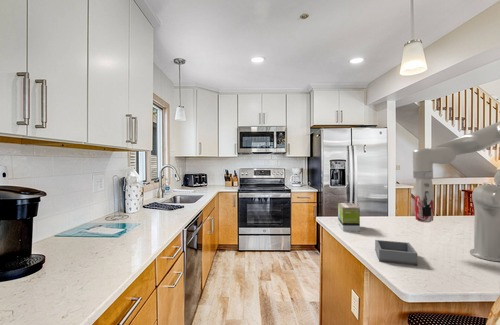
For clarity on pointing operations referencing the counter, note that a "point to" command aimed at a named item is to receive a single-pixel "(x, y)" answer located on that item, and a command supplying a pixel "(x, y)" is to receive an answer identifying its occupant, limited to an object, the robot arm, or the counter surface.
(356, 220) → the tea box
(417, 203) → the soda can
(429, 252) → the counter surface
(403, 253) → the gray square tray
